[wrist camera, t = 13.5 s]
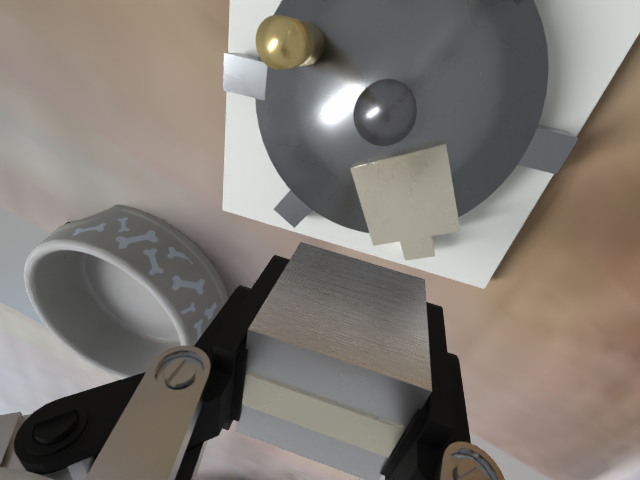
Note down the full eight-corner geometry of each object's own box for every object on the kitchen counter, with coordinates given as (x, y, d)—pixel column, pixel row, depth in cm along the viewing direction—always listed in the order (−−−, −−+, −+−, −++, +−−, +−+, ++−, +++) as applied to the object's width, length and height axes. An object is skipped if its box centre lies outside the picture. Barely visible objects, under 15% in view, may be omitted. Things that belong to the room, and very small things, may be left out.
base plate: (697, -91, 13) (721, -103, 12) (481, 278, 23) (484, 288, 22) (248, -166, 15) (236, -181, 14) (230, 203, 25) (222, 210, 24)
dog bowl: (33, 232, 33) (-27, 262, 29) (167, 182, 26) (115, 210, 22) (133, 354, 40) (97, 394, 35) (260, 340, 33) (236, 387, 28)
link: (424, 279, 10) (432, 394, 7) (386, 365, 12) (376, 486, 9) (300, 242, 11) (246, 331, 7) (283, 330, 13) (234, 433, 9)
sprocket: (377, -246, 12) (353, -426, 8) (675, 61, 14) (799, 69, 10) (197, 137, 22) (137, 162, 17) (392, 288, 24) (387, 347, 19)
